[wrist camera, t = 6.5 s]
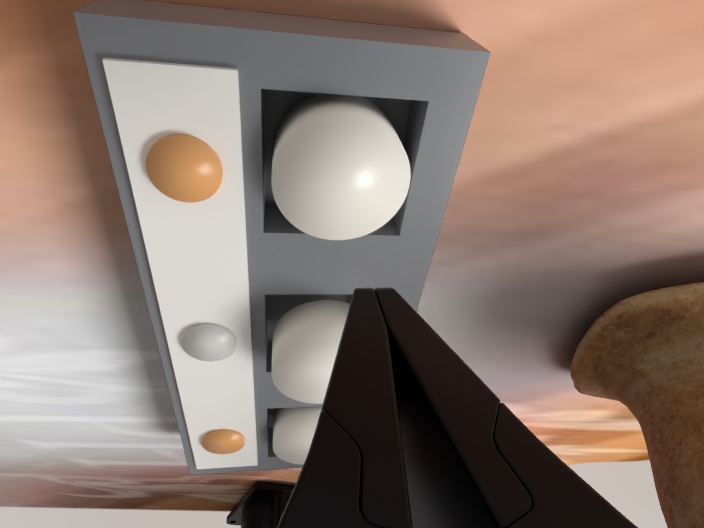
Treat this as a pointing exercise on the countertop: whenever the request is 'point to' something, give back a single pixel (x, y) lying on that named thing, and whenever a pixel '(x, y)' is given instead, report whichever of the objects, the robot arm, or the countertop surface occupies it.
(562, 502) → the robot arm
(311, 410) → the button
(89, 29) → the button board
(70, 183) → the countertop surface
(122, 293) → the countertop surface
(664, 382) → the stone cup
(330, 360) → the button middle
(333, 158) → the button
